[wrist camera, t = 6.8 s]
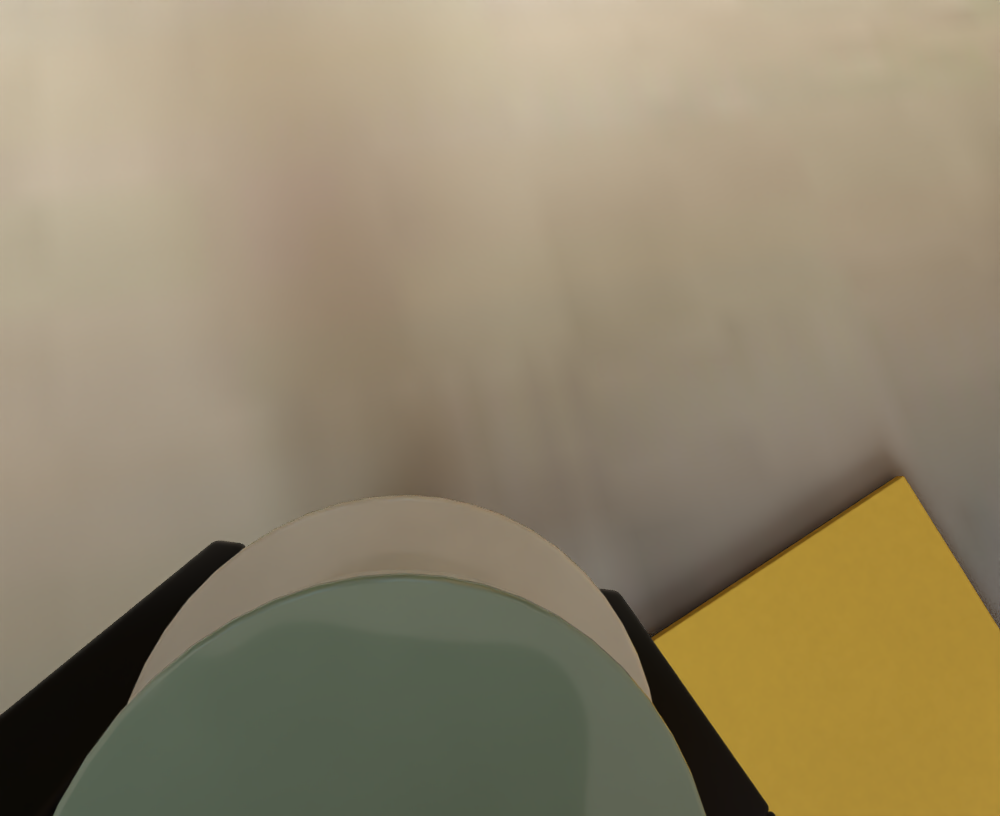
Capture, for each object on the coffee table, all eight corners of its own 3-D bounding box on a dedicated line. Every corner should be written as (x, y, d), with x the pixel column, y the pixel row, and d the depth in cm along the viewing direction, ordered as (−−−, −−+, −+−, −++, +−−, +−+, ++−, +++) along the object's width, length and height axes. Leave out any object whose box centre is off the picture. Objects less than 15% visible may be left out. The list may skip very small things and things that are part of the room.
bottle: (362, 777, 15) (134, 1890, 3) (263, 583, 15) (-303, 780, 3) (546, 659, 16) (984, 1075, 4) (448, 480, 16) (552, 332, 4)
